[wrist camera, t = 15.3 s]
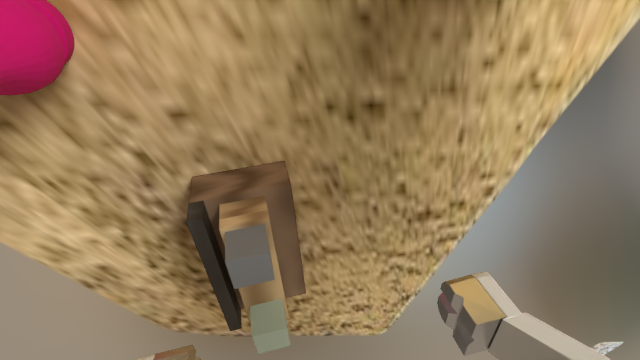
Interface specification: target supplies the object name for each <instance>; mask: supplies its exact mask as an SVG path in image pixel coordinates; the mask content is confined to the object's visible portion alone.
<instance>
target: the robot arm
mask: <svg viewBox="0 0 640 360" xmlns="http://www.w3.org/2000/svg"><path fill="white" fill-rule="evenodd" d="M441 290H442V291H443V293H442V294H441V295H440V296H439V297H438V302H437V303H438V308H439V312H440V315H441V317H442V319H443V320H444V322H445V324H446V325H448V326H449V327H451V328H452V329H453V338H454V339H455V341H456V343H457V344H458V346H459V348H460V349H461V351H462V353H463V355H464V356H465V355H469V354H473V353H477V352H481V351H485V350H488V352H490V353H491V354H492V355H494V356H495V357H496V358H498V359H499V360H610V359H609V358H608V357H606V356H604V355H602V354H600V353H599V352H597V351H595V350H593V349H591V348H589V347H588V346H586V345H584V344H582V343H580V342H579V341H576V340H575V339H573V338H571V337H569V336H568V335H566V334H564V333H562V332H560V331H558V330H557V329H555V328H553V327H551V326H549V325H547V324H546V323H544V322H542V321H540V320H538V319H537V318H535V317H533V316H531V315H529V314H527V313H521V312H520V311H519V310H518V308H517V307H516V306H515V305H514V304H513V302H512V301H511V300H510V299H509V297H508V296H507V295H506V294H505V292H504V291H503V290H502V289H501V288H500V286H499V285H498V284H497V283H496V282H495V280H494V279H493V278H492V277H491V275H490V274H488V273H487V272H480V273H476V274H473V275H468V276H464V277H460V278H457V279H453V280H449V281H445V282H444V283H442V285H441ZM195 355H196V350H195V348H194V347H193V345H190V346H186V347H182V348H178V349H174V350H170V351H166V352H162V353H156V354H153V355H149V356H145V357H141V358H138V359H137V360H201V359H200V358H199V357H196V356H195Z"/></svg>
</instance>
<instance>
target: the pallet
mask: <svg viewBox="0 0 640 360" xmlns="http://www.w3.org/2000/svg"><path fill="white" fill-rule="evenodd" d="M262 224H265V229H266V233H267V238H268V243H269V247H270V252H271V259H272V265H273V272H274V278H275V280H272V281H267V282H263V283H259V284H254V285H250V286H246V287H241V288H239V291H240V294H241V297H242V300H243V303H244V306H245V309H246V312H247V316H248V319H249V322H250V325H251V316H250V306H254V305H258V304H262V303H266V302H270V301H274V300H278V299H282V302H283V306H284V310H285V315H286V319H289V315H288V310H287V304H286V298H285V293H284V288H283V283H282V280H281V275H280V269H279V263H278V258H277V253H276V248H275V243H274V240H273V235H272V230H271V224H270V218H269V213H268V208H267V203H266V198H265V196H261V197H256V198H251V199H246V200H240V201H235V202H230V203H225V204H219V230H220V233H221V236H222V239H223V242H224V245H225V232H228V231H233V230H237V229H242V228H247V227H252V226H257V225H262Z"/></svg>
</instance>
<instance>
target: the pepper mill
mask: <svg viewBox="0 0 640 360" xmlns="http://www.w3.org/2000/svg"><path fill="white" fill-rule="evenodd" d="M73 50H74V37H73V33H72V31H71V28H70V26H69V24H68V22H67V21H66V20H65V18H64V17H63V15H62V14H61V13H60V12H59V11H58V10H57V9H56V8H55V7H54V6H53V5H51V4H50V3H49V2H47V1H46V0H0V95H19V94H25V93H31V92H34V91H37V90H39V89H42V88H43V87H45V86H47V85H49V84H50V83H52V82H53V81H54V80H55V79H56V78H57V77H58V76H59V74H60V73H61V71H62V68H63V65H64V64H65V63H66V62H67V61H68V60H69V59H70V57H71V55H72V53H73Z"/></svg>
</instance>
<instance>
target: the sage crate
mask: <svg viewBox="0 0 640 360" xmlns="http://www.w3.org/2000/svg"><path fill="white" fill-rule="evenodd" d="M250 316H251V329H252V338H253V340H254V343H255V346H256V349H257V352H258V354H261V353H264V352H268V351H272V350H276V349H279V348H283V347H287V346H290V345H291V343H290V338H289V332H288V326H287V320H286V315H285V310H284V306H283V302H282V299H278V300H274V301H270V302H266V303H262V304H258V305H254V306H250Z"/></svg>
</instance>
